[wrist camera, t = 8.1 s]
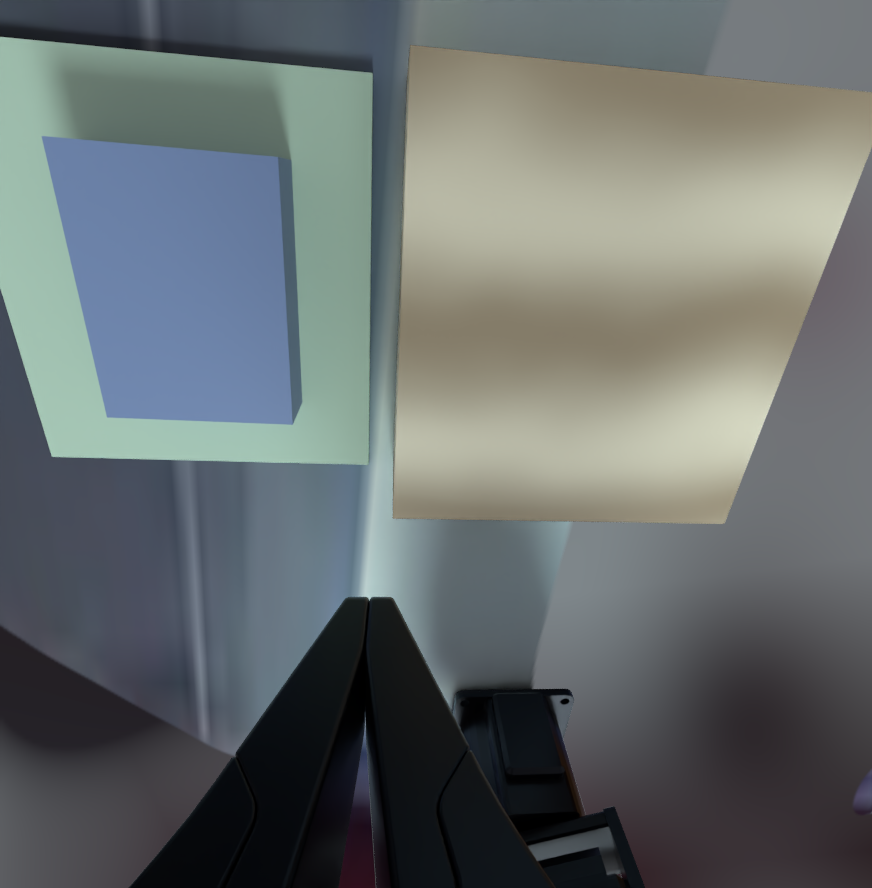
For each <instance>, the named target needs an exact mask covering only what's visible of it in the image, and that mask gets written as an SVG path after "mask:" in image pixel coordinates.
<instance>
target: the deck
mask: <svg viewBox="0 0 872 888" xmlns="http://www.w3.org/2000/svg"><path fill="white" fill-rule="evenodd" d="M871 148H872V92H863V91H852V90H843V89H834V88H824V87H814V86H804V85H795V84H785V83H775V82H765V81H756V80H746V79H736V78H726V77H715V76H707V75H697V74H688V73H678V72H668V71H659V70H649V69H639V68H629V67H620V66H610V65H600V64H590V63H581V62H571V61H561V60H552V59H542V58H532V57H522V56H513V55H503V54H493V53H484V52H474V51H464V50H454V49H445V48H435V47H425V46H415V45H410V52H409V62H408V72H407V88H406V117H405V145H404V173H403V202H402V230H401V258H400V287H399V315H398V343H397V372H396V400H395V428H394V457H393V519H455V520H518V521H581V522H582V521H584V522H643V523H644V522H645V523H705V524H706V523H707V524H724V523H725V521H726V518H727V515H728V513H729V510H730V508H731V505H732V503H733V500H734V498H735V495H736V492H737V490H738V487H739V485H740V482H741V479H742V477H743V475H744V472H745V469H746V467H747V464H748V462H749V459H750V457H751V454H752V452H753V449H754V446H755V444H756V441H757V439H758V436H759V433H760V431H761V429H762V426H763V424H764V421H765V418H766V416H767V413H768V411H769V408H770V406H771V403H772V401H773V398H774V395H775V393H776V390H777V388H778V385H779V383H780V380H781V377H782V375H783V372H784V370H785V367H786V365H787V362H788V360H789V357H790V355H791V352H792V349H793V347H794V344H795V342H796V339H797V337H798V334H799V332H800V329H801V326H802V324H803V321H804V319H805V316H806V314H807V311H808V309H809V306H810V304H811V301H812V298H813V296H814V293H815V291H816V288H817V285H818V283H819V281H820V278H821V275H822V273H823V270H824V268H825V265H826V263H827V260H828V258H829V255H830V252H831V250H832V247H833V245H834V242H835V240H836V237H837V235H838V232H839V230H840V227H841V224H842V222H843V219H844V217H845V214H846V212H847V209H848V207H849V204H850V201H851V199H852V196H853V194H854V191H855V189H856V186H857V183H858V181H859V178H860V176H861V173H862V170H863V168H864V166H865V163H866V161H867V158H868V155H869V153H870V150H871Z"/></svg>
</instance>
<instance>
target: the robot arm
mask: <svg viewBox="0 0 872 888" xmlns="http://www.w3.org/2000/svg"><path fill="white" fill-rule="evenodd" d="M573 703H574V698H573V695H572V692H571V691H570V690H568V689H523V690H464V691H460V692H458V693H457V694H456V695H455V699H454V707H453V713H452V712H451V710H450V708H449V706H448V704H447V702H446V700H445V698H444V696H443V694H442V692H441V690H440V688H439V686H438V684H437V682H436V680H435V678H434V677H433V675H432V673H431V671H430V669H429V667H428V665H427V663H426V661H425V659H424V657H423V655H422V653H421V651H420V649H419V647H418V645H417V643H416V641H415V640H414V638H413V636H412V634H411V632H410V630H409V628H408V626H407V624H406V622H405V620H404V618H403V616H402V614H401V612H400V610H399V608H398V606H397V605H396V603H395V601H394V599H393V598H391V597H372V598H371V599H370V601H369V599H368V598H367V597H348V598H346V599H345V600H344V601H343V602H342V604H341V605H340V607H339V608H338V609H337V611H336V612H335V614H334V615H333V616H332V618H331V619H330V621H329V622H328V624H327V625H326V626H325V628H324V629H323V631H322V632H321V633H320V635H319V636H318V638H317V639H316V640H315V642H314V643H313V645H312V646H311V647H310V649H309V650H308V652H307V653H306V654H305V656H304V657H303V659H302V660H301V662H300V663H299V664H298V666H297V667H296V669H295V670H294V671H293V673H292V674H291V676H290V677H289V678H288V680H287V681H286V683H285V684H284V685H283V687H282V688H281V690H280V691H279V692H278V694H277V695H276V697H275V698H274V700H273V701H272V702H271V704H270V705H269V707H268V708H267V709H266V711H265V712H264V714H263V715H262V716H261V718H260V719H259V721H258V722H257V723H256V725H255V726H254V728H253V729H252V731H251V732H250V733H249V735H248V736H247V738H246V739H245V740H244V742H243V743H242V745H241V746H240V747H239V749H238V750H237V752H236V754H235V756H236V757H233V758H231V760H230V761H229V763H228V764H227V765H226V767H225V768H224V770H223V771H222V772H221V774H220V775H219V777H218V778H217V779H216V781H215V782H214V784H213V785H212V786H211V788H210V789H209V790H208V792H207V793H206V794H205V796H204V797H203V798H202V800H201V801H200V802H199V804H198V805H197V806H196V808H195V809H194V810H193V812H192V813H191V814H190V816H189V817H188V818H187V819H186V821H185V822H184V823H183V824H182V825H181V826H180V828H179V829H178V830H177V831H176V833H175V834H174V835H173V836H172V837H171V839H170V840H169V841H168V842H167V843H166V845H165V846H164V847H163V848H162V850H161V851H160V852H159V853H158V854H157V856H156V857H155V858H154V859H153V860H152V861H151V862H150V864H149V865H148V866H147V867H146V868H145V869H144V870H143V872H142V873H141V874H140V875H139V876H138V877H137V879H136V880H135V881H134V882H133V883H132V884H131V886H130V887H129V888H338V886H339V880H340V874H341V868H342V862H343V857H344V851H345V845H346V839H347V833H348V827H349V821H350V815H351V809H352V803H353V797H354V791H355V785H356V779H357V773H358V767H359V761H360V755H361V749H362V743H363V736H364V729H365V717H366V745H367V760H368V775H369V790H370V805H371V819H372V834H373V849H374V864H375V878H376V888H645V886H644V884H643V881H642V878H641V876H640V873H639V870H638V868H637V865H636V863H635V860H634V857H633V854H632V852H631V849H630V847H629V844H628V841H627V839H626V836H625V833H624V831H623V828H622V825H621V823H620V820H619V817H618V815H617V812H616V809H615V807H614V806H613V807H609V808H605V809H603V812H599V813H594V814H590V815H586V814H585V811H584V807H583V804H582V801H581V798H580V794H579V791H578V788H577V784H576V781H575V778H574V774H573V771H572V768H571V764H570V761H569V758H568V754H567V751H566V748H565V744H564V741H563V738H564V734H565V730H566V727H567V724H568V720H569V717H570V713H571V710H572V706H573ZM619 873H620V874H621V877H622V878H621V877H620V876H618V875H617V874H619Z"/></svg>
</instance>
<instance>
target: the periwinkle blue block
mask: <svg viewBox="0 0 872 888" xmlns="http://www.w3.org/2000/svg"><path fill="white" fill-rule="evenodd" d="M42 140H43V145H44V149H45V153H46V158H47V162H48V166H49V170H50V175H51V179H52V183H53V188H54V192H55V196H56V201H57V205H58V209H59V213H60V218H61V222H62V226H63V231H64V235H65V239H66V243H67V248H68V252H69V256H70V261H71V265H72V269H73V274H74V278H75V282H76V286H77V291H78V295H79V299H80V304H81V308H82V312H83V316H84V321H85V325H86V329H87V334H88V338H89V342H90V347H91V351H92V355H93V359H94V364H95V368H96V372H97V377H98V381H99V385H100V389H101V394H102V398H103V402H104V407H105V411H106V415H107V418H133V419H158V420H184V421H209V422H235V423H261V424H286V425H293V423H294V421H295V418H296V416H297V414H298V411H299V409H300V407H301V404H302V384H301V362H300V339H299V317H298V295H297V272H296V250H295V228H294V205H293V183H292V161H291V160H289V159H285V158H280V157H274V156H262V155H251V154H240V153H229V152H217V151H206V150H195V149H183V148H172V147H161V146H150V145H138V144H127V143H116V142H104V141H93V140H82V139H70V138H59V137H48V136H42Z"/></svg>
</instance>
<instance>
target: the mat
mask: <svg viewBox="0 0 872 888" xmlns="http://www.w3.org/2000/svg"><path fill="white" fill-rule="evenodd" d="M372 116H373V73H368V72H358V71H347V70H337V69H327V68H316V67H306V66H296V65H286V64H275V63H265V62H255V61H244V60H234V59H224V58H213V57H203V56H193V55H182V54H172V53H162V52H152V51H141V50H131V49H121V48H110V47H100V46H90V45H79V44H69V43H59V42H48V41H38V40H28V39H18V38H7V37H0V288H1V291H2V295H3V298H4V301H5V305H6V308H7V311H8V314H9V318H10V321H11V324H12V327H13V331H14V334H15V337H16V341H17V344H18V347H19V350H20V354H21V357H22V360H23V363H24V367H25V370H26V373H27V377H28V380H29V383H30V386H31V390H32V393H33V396H34V399H35V403H36V406H37V409H38V413H39V416H40V419H41V422H42V426H43V429H44V432H45V435H46V439H47V442H48V445H49V449H50V452H51V455H52V457H82V458H121V459H160V460H199V461H238V462H277V463H316V464H355V465H368V464H369V397H370V303H371V210H372ZM42 136H48V137H59V138H70V139H82V140H93V141H104V142H116V143H127V144H138V145H150V146H161V147H172V148H183V149H195V150H206V151H217V152H229V153H240V154H251V155H262V156H274V157H280V158H285V159H289V160H291V161H292V183H293V205H294V228H295V250H296V272H297V295H298V317H299V339H300V362H301V384H302V404H301V407H300V409H299V411H298V414H297V416H296V418H295V421H294V423H293V425H286V424H261V423H235V422H209V421H184V420H158V419H133V418H107V415H106V411H105V407H104V402H103V398H102V394H101V389H100V385H99V381H98V377H97V372H96V368H95V364H94V359H93V355H92V351H91V347H90V342H89V338H88V334H87V329H86V325H85V321H84V316H83V312H82V308H81V304H80V299H79V295H78V291H77V286H76V282H75V278H74V274H73V269H72V265H71V261H70V256H69V252H68V248H67V243H66V239H65V235H64V231H63V226H62V222H61V218H60V213H59V209H58V205H57V201H56V196H55V192H54V188H53V183H52V179H51V175H50V170H49V166H48V162H47V158H46V153H45V149H44V145H43V140H42Z"/></svg>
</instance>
